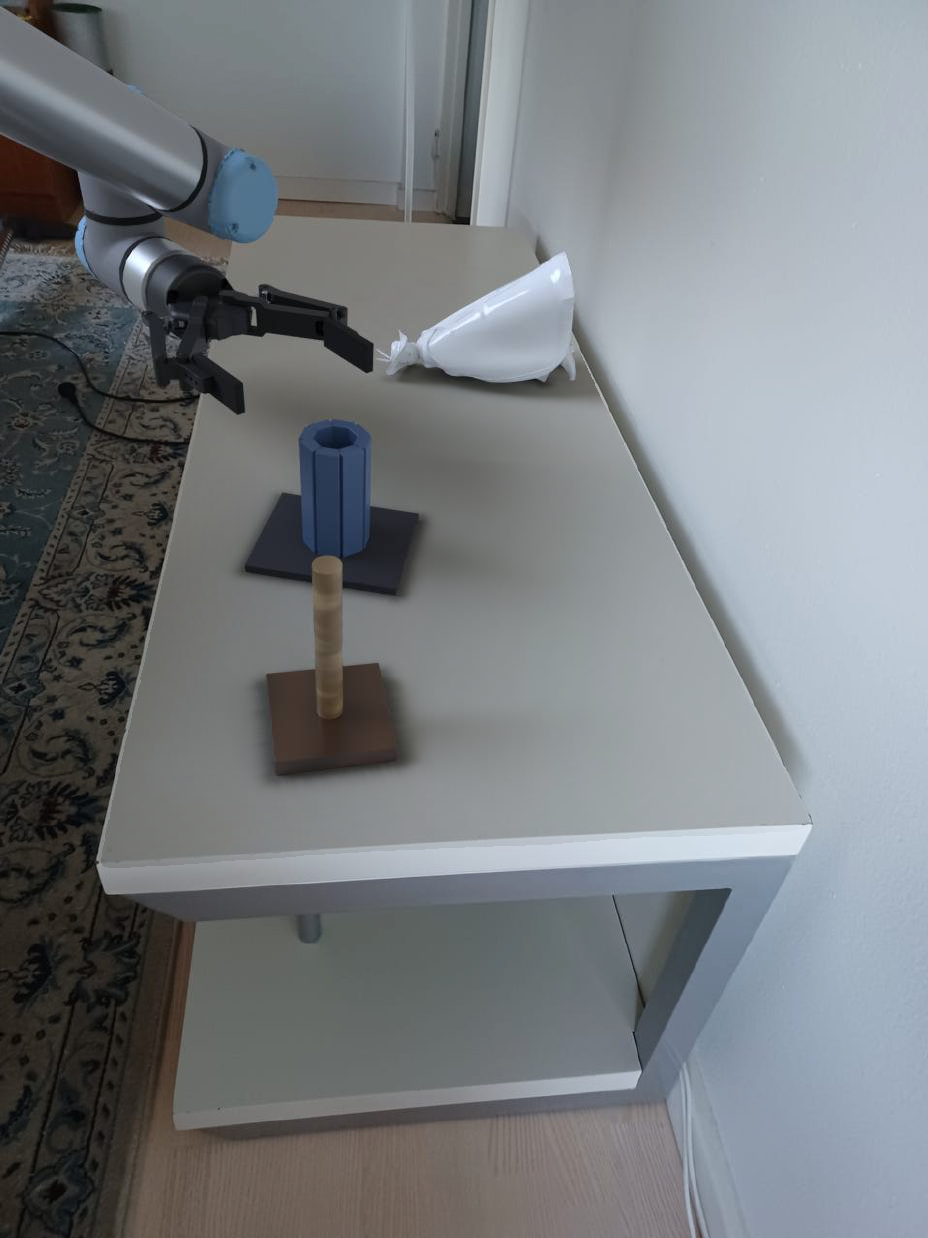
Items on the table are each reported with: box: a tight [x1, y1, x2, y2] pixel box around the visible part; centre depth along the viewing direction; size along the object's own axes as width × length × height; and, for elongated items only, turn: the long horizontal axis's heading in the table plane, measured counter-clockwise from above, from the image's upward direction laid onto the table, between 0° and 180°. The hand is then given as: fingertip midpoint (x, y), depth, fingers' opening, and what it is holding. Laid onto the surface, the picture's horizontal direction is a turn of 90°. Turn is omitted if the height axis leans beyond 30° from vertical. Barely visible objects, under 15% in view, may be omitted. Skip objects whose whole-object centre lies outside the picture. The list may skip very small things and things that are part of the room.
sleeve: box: [298, 418, 373, 558], centre depth 82 cm, size 6×6×11 cm
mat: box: [244, 492, 420, 596], centre depth 86 cm, size 14×12×1 cm
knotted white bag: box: [375, 251, 577, 383], centre depth 111 cm, size 14×16×25 cm
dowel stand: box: [265, 555, 399, 776], centre depth 65 cm, size 9×9×16 cm
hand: (308, 377), depth 78 cm, fingers open, 13 cm apart
